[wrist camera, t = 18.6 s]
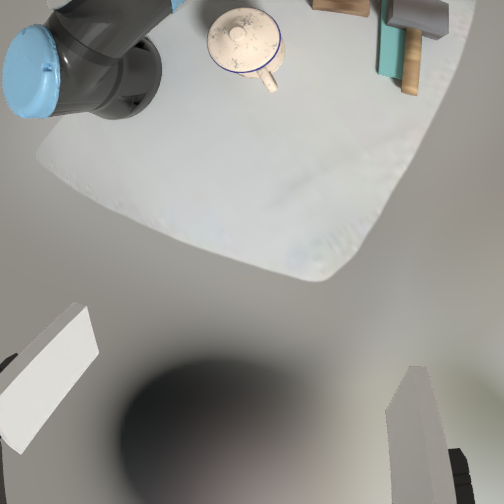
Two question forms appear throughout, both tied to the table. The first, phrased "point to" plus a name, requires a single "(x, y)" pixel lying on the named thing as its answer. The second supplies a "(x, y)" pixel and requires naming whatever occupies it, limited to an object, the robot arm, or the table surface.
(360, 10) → the stand
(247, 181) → the table surface
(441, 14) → the mallet
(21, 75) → the robot arm
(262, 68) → the teacup with lid
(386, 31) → the mat
